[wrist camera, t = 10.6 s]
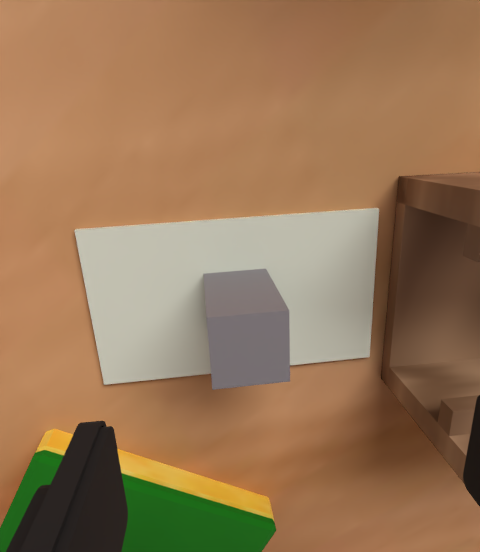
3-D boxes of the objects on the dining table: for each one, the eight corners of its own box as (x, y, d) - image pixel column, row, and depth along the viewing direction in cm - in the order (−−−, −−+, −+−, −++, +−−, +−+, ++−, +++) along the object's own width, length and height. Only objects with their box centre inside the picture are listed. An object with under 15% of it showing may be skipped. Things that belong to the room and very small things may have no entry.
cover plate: (371, 206, 19) (441, 231, 14) (363, 349, 22) (419, 418, 16) (79, 227, 18) (29, 263, 13) (107, 376, 21) (76, 459, 15)
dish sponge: (219, 570, 26) (222, 610, 24) (7, 515, 23) (-14, 556, 21) (271, 492, 25) (279, 528, 22) (51, 420, 21) (34, 454, 19)
